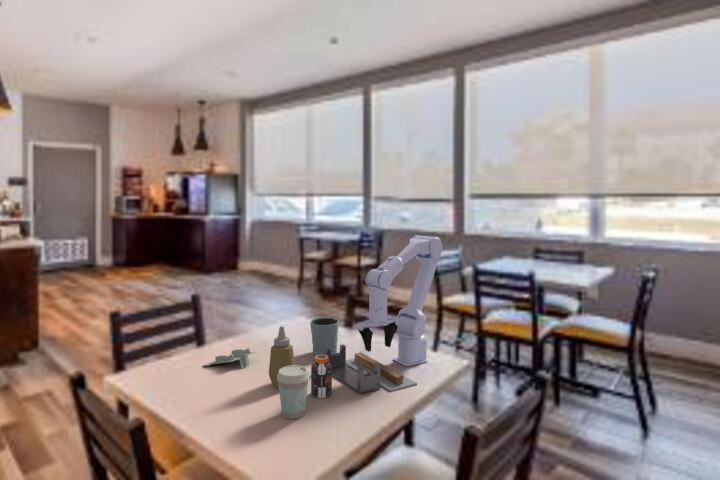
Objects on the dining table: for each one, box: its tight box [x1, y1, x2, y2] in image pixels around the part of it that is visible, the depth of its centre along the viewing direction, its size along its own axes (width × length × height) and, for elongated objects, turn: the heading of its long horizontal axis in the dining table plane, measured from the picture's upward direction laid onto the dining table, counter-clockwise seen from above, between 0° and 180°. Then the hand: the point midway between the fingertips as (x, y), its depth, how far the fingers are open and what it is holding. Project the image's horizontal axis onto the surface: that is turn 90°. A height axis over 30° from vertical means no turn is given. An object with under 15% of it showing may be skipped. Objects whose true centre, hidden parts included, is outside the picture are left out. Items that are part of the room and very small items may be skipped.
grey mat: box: [346, 357, 418, 393], centre depth 155 cm, size 10×28×1 cm, turn 32°
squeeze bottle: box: [268, 325, 296, 389], centre depth 144 cm, size 8×8×18 cm
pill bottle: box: [310, 355, 333, 399], centre depth 138 cm, size 6×6×11 cm
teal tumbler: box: [309, 316, 340, 357], centre depth 172 cm, size 10×10×12 cm
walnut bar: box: [354, 351, 404, 385], centre depth 155 cm, size 2×24×2 cm, turn 32°
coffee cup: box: [277, 364, 311, 420], centre depth 126 cm, size 8×8×12 cm
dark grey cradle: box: [325, 343, 381, 395], centre depth 149 cm, size 7×22×8 cm, turn 32°
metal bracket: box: [202, 347, 256, 369], centre depth 162 cm, size 14×6×15 cm
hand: (378, 348), depth 154 cm, fingers open, 7 cm apart
